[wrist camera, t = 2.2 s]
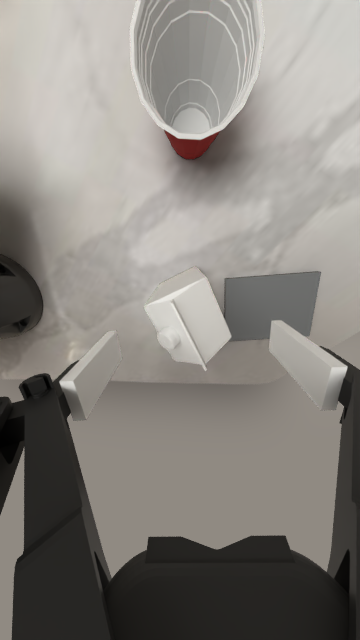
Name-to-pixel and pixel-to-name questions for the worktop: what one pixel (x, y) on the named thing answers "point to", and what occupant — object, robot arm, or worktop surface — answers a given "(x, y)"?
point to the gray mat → (270, 303)
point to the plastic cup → (195, 65)
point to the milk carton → (188, 318)
